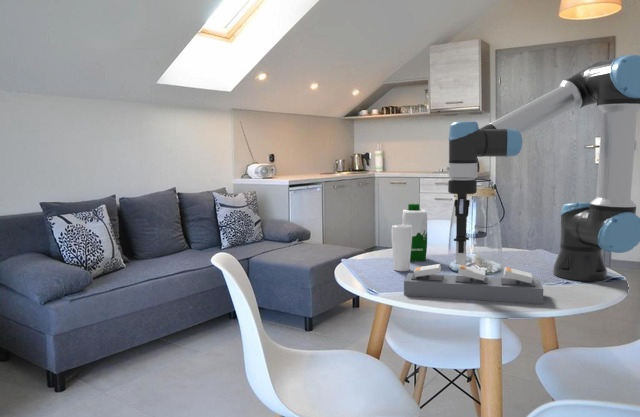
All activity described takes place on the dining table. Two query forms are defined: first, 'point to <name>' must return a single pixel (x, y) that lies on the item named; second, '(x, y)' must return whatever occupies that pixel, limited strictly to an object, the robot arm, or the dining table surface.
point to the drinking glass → (401, 246)
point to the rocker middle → (471, 272)
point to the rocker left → (427, 270)
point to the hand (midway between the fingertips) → (460, 263)
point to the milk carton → (417, 231)
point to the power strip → (474, 288)
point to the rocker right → (518, 275)
